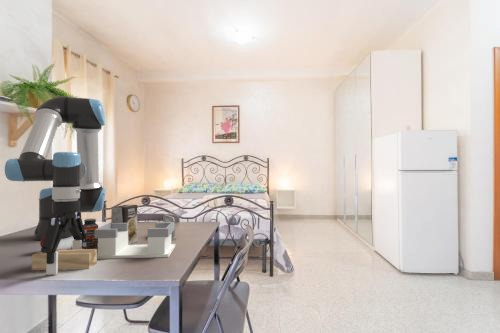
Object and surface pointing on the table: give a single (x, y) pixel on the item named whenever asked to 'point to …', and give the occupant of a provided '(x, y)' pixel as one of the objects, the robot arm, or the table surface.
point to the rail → (67, 259)
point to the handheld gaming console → (169, 219)
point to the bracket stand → (116, 245)
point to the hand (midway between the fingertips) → (65, 266)
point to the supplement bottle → (90, 234)
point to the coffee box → (126, 219)
